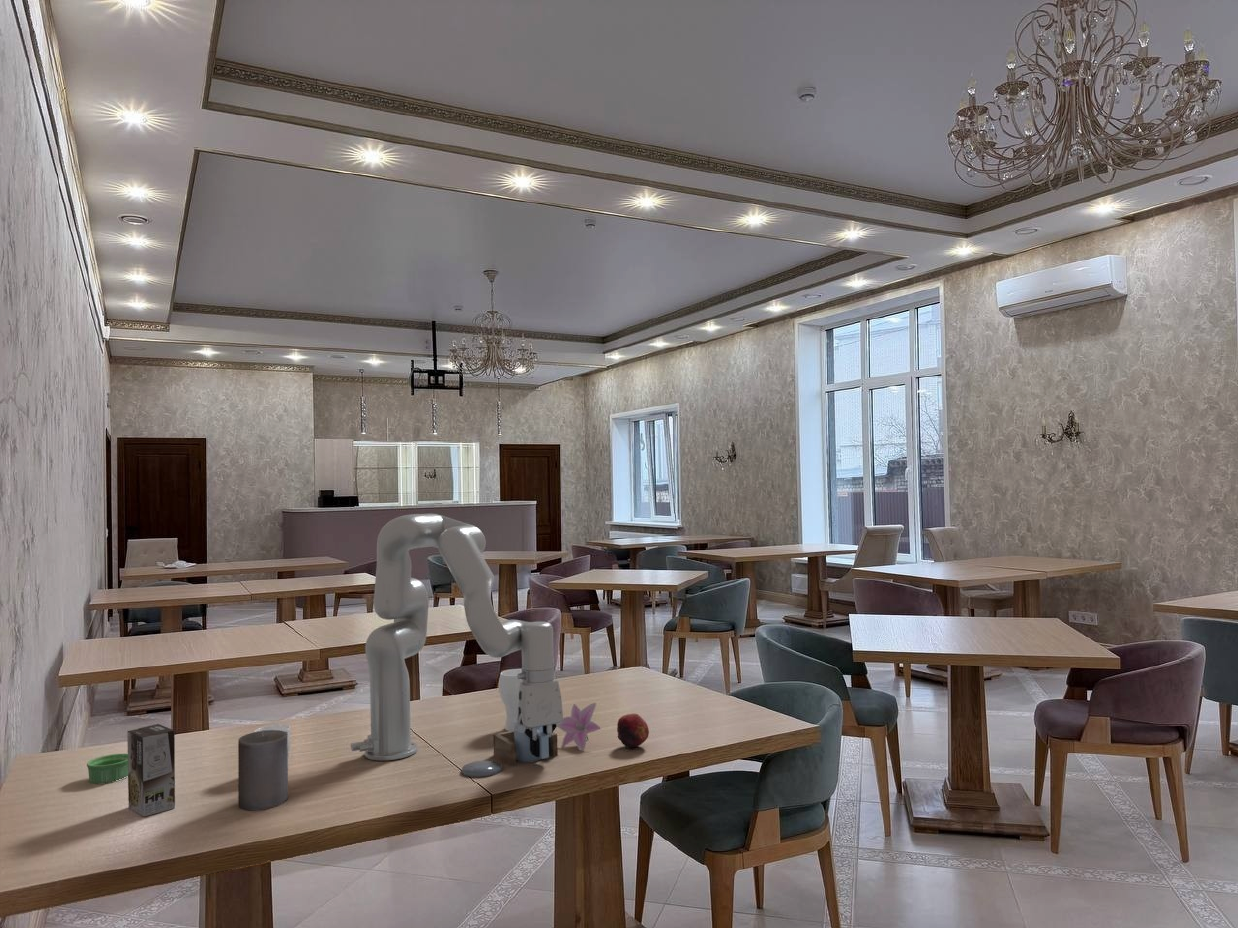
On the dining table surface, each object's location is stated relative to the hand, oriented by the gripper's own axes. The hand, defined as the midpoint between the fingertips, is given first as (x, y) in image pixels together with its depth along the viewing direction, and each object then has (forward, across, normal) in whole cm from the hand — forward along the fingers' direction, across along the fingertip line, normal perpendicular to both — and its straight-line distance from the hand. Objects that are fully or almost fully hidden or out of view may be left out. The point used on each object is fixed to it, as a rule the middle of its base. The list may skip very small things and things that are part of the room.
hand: (540, 753), depth 193 cm
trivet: (+2, -13, +4) cm, 14 cm away
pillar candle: (+2, -58, +14) cm, 60 cm away
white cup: (+2, -53, +33) cm, 63 cm away
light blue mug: (+2, 0, +3) cm, 4 cm away
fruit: (+2, +24, -3) cm, 24 cm away
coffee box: (+2, -78, +25) cm, 82 cm away
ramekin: (+3, -85, +53) cm, 100 cm away
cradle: (+2, 0, +8) cm, 8 cm away
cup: (+2, +9, +30) cm, 31 cm away
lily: (+3, +15, +7) cm, 17 cm away
